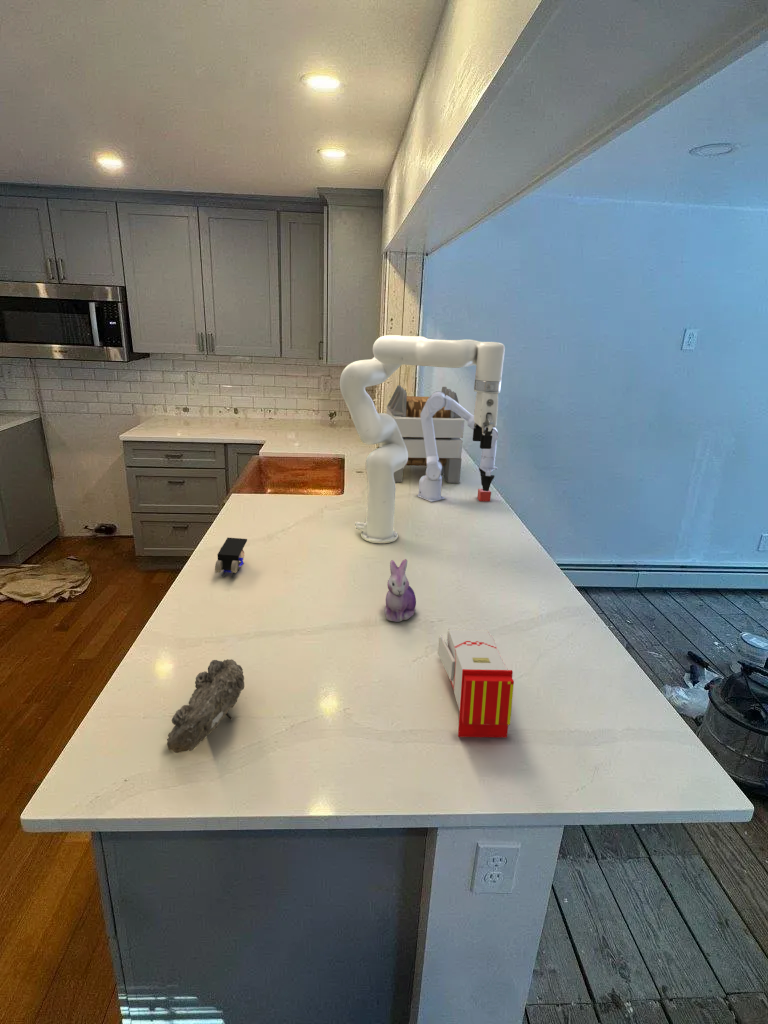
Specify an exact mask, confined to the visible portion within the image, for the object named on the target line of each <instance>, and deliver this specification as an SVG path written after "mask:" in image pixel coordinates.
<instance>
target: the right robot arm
mask: <svg viewBox="0 0 768 1024" xmlns="http://www.w3.org/2000/svg"><path fill="white" fill-rule="evenodd" d="M428 397H429V398H428V400H427V402H426V404H425V406H424V408H423V410H422V412H421V414H420V416H421V423H422V430H423V437H424V443H425V450H426V457H427V466H426V470H425V474H424V475H422V476H421V477H420V478H419V480H418V491H417V492H418V493H417V494H416V497H418V498H421V499H423V500H425V501H428V502H430V503H433V502H438V501H442V500H445V499H446V497H444V496H442V483H443V476H442V474H441V470H442V464H441V463H440V461H439V457H438V453H437V446H436V439H435V432H434V425H433V418H432V417H433V416H434V414H435V413H436V412H437V411H439V410H440V409H442V408H443V407H444V410H452V411H453V412H455V413H456V414H458V415H459V416H460V417H461V418H462V419H464V420H465V421H466V422H467V423H466V424H467V427H469V429H471V430H474V423H475V422H474V414H472V413H471V412H469V411H468V410H467V409H466V408H464V406H462V405H461V404H460V403H459V404H458V403H457V402H456V401H455V400H453V399H452V398H451V397H449V396H447V395H446V396H445V394H444V393H443V392H442V390H441V391H440V390H436V391H434V392H433V393H431V394H430V396H428ZM485 429H486V428H485ZM498 439H499V431H498V429H497V428H496V427H495V428H493V435H492V443H491V449H481V453H480V463H479V467H478V471H479V474H480V483H481V486H482V489H483V491H488V490H490V487H491V485H492V482H493V480H494V478H495V474H492V472H493V471H494V470H498V467H497V466H495V465H496V464H495V463H496V456H497V447H498V445H497V444H498Z"/></svg>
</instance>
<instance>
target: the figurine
mask: <svg viewBox="0 0 768 1024" xmlns="http://www.w3.org/2000/svg"><path fill="white" fill-rule="evenodd" d="M407 567H408V559H406V558H404V559H403V560H402V561H401V563H400V565H399V566H398V565H397V563H396V562H395V561H394V560H393V559H391V560H390V561H389V570H390V576H389V578H388V579H387V589H388V591H387V592H386V594H385V595H386V596H385V607H384V615H385V616H386V620H387V621H391V622H395V623H400V622H402V621H406V620H409V619H410V618H411V617H413V616H414V615H415V610H416V606H417V597H416V593H415V591H414V590H413V587H411V586H410V582H409V579H408V577H407V574H406V571H407Z"/></svg>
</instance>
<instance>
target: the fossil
mask: <svg viewBox="0 0 768 1024" xmlns="http://www.w3.org/2000/svg"><path fill="white" fill-rule="evenodd" d="M243 670H244V669H243V667H242V665H240V664H237V662H236V661H235V660H234V659H232V658H231V659H227V658H226V659H224V660H223V661H222V660H217V659H212V660H211V661H210V663H209V665H208V666H207V671H201V672H199V673H198V674H197V675H196V676H195V680H194V684H195V685H194V687H195V689H194V690H193V693H192V694H191V697H190V698H189V700H188V704H184V705H182V706H181V707H180V709H177V710H176V711H175V713H174V715H173V716H172V718H171V723H172V724H173V727H172V730H171V731H170V732H168V734H167V738H166V741H167V742H166V745H167V749H168V750H169V751H173V752H174V753H176V754H178V753H182V752H188V751H189V752H192V751H193V750H195V748H196V747H197V746H199V744H200V743H201V742H203V741H204V740H205V739H206V738H207V737H208V736H209V735H210V734H211V733H212V732H214V730H215V729H217V727H218V726H219V724H220V722H221V721H222V720H223V719H224V718H225V716H226V717H227V719H229V720H233V717H232V715H230V714H229V710H230V709H231V708H234V706H235V704H236V703H237V702H238V699H239V697H240V695H241V693H242V691H243V690H245V689H244V688H245V675H244V671H243Z"/></svg>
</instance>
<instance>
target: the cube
mask: <svg viewBox="0 0 768 1024" xmlns="http://www.w3.org/2000/svg"><path fill="white" fill-rule="evenodd" d="M476 496H477V497H476V498H477V500H478V501H479V502H491V497H492V491H491V490H490V489H489V490H488V491H483V488H478V489H477V495H476Z"/></svg>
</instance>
